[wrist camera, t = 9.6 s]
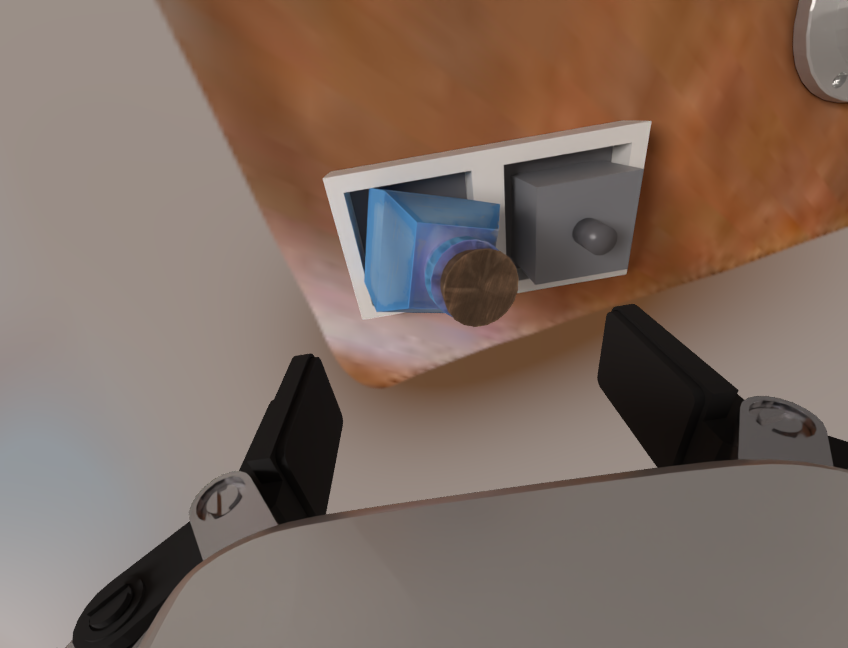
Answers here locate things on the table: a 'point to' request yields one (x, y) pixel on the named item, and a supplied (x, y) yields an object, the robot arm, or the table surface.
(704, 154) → the table surface
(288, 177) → the table surface
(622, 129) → the socket strip
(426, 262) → the perfume bottle
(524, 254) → the charcoal plug block
